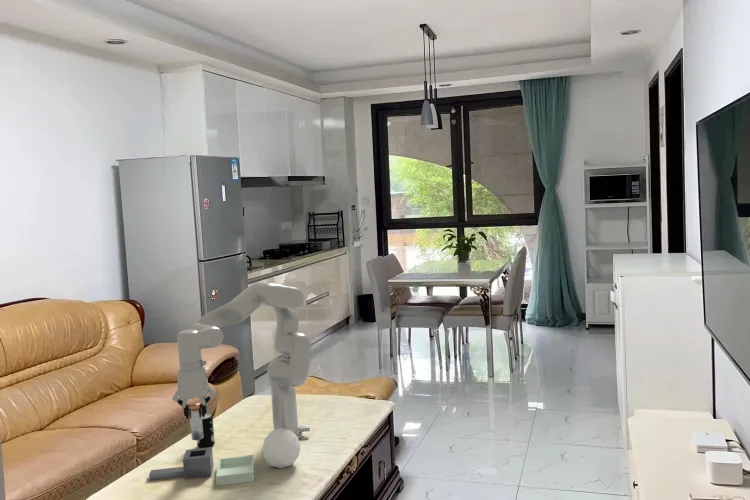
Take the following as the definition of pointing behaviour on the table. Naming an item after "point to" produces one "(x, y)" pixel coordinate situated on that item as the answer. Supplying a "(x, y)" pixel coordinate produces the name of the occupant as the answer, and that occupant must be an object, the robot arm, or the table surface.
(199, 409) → the pin
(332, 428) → the table surface
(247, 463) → the tray
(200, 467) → the hitch block
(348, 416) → the table surface
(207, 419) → the beverage can
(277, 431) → the geodesic sphere
